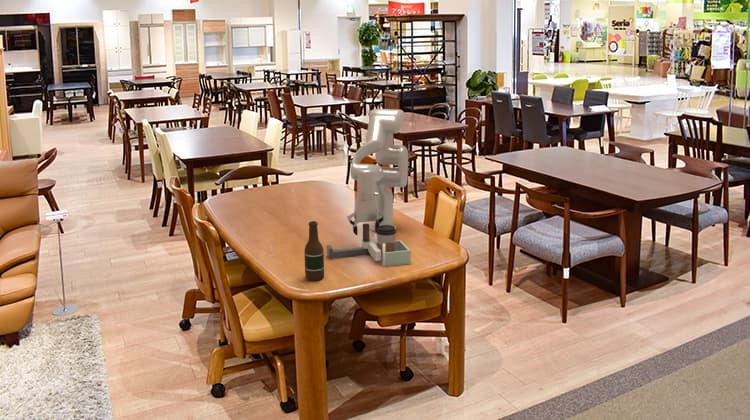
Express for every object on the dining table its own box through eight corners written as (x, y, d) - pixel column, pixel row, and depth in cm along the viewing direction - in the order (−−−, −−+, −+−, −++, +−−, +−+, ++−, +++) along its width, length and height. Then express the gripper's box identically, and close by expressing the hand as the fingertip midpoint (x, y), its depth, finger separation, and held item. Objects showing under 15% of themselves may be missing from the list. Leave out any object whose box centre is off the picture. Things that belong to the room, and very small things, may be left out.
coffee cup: (379, 264, 302) (379, 231, 298) (374, 257, 309) (374, 225, 305) (398, 262, 304) (398, 229, 300) (392, 256, 312) (392, 223, 307)
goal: (373, 255, 313) (373, 234, 310) (400, 252, 316) (400, 231, 313) (383, 266, 299) (382, 244, 296) (410, 263, 302) (410, 241, 299)
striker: (362, 248, 315) (361, 223, 312) (374, 247, 317) (374, 222, 313) (371, 261, 299) (371, 234, 296) (385, 260, 301) (385, 233, 298)
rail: (327, 255, 312) (327, 245, 311) (386, 250, 319) (386, 239, 318) (329, 259, 308) (329, 248, 306) (389, 253, 314) (389, 243, 313)
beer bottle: (324, 274, 291) (323, 219, 284) (323, 281, 283) (322, 224, 277) (305, 274, 291) (303, 219, 284) (304, 281, 283) (302, 225, 276)
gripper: (382, 192, 312) (382, 229, 317) (344, 195, 308) (345, 232, 313) (387, 196, 305) (387, 234, 310) (348, 199, 301) (349, 237, 306)
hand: (366, 233), depth 312 cm, fingers open, 9 cm apart
